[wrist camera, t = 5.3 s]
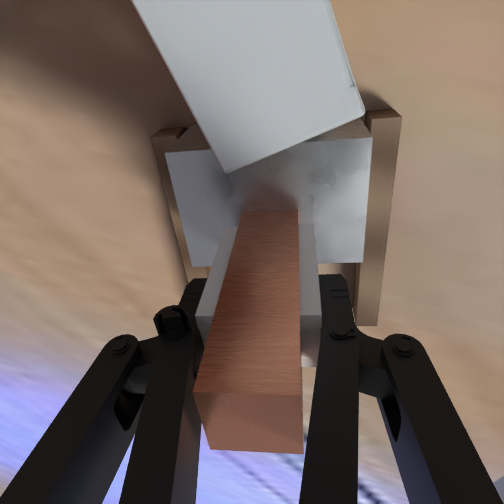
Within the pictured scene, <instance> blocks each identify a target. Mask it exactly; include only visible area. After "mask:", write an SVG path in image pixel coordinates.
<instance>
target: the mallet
mask: <svg viewBox="0 0 504 504" xmlns="http://www.w3.org/2000/svg"><path fill="white" fill-rule="evenodd" d="M372 141H373V137H372V135H371V134H370V132H369V131H368V129H367V128H366V126H365V124H364V123H363V121H362V120H361V118H360V117H359V118H357V119H355V120H352V121H350V122H347V123H345V124H343V125H340V126H338V127H336V128H333V129H331V130H329V131H326V132H324V133H322V134H319V135H317V136H315V137H312V138H310V139H308V140H305V141H303V142H301V143H298V144H296V145H294V146H291V147H289V148H287V149H284V150H282V151H280V152H277V153H275V154H272V155H270V156H268V157H265V158H263V159H261V160H258V161H256V162H254V163H251V164H249V165H246V166H244V167H242V168H239V169H237V170H234V171H232V172H230V173H226V174H225V173H223V171H222V168H221V166H220V164H219V163H218V161H217V159H216V157H215V155H214V153H213V152H212V150H211V148H210V146H209V144H208V142H207V141H206V139H205V137H204V135H203V133H202V131H201V129H200V128H199V126H198V124H197V123H193V124H192V125H191V126H190V127H189V128H188V129H187V131H186V132H185V133H184V134H183V135H182V136H181V137H180V138H179V139H178V140H177V141H176V142H175V143H174V144H173V145H172V146H171V147H170V148H169V149H168V150H167V151H166V152H165V157H166V161H167V165H168V169H169V173H170V177H171V181H172V185H173V190H174V194H175V198H176V202H177V206H178V210H179V214H180V218H181V222H182V227H183V231H184V235H185V239H186V243H187V247H188V251H189V255H190V260H191V264H192V267H204V266H212V264H213V261H214V258H215V255H216V252H217V249H218V246H219V243H220V240H221V237H222V235H223V232H224V229H225V227H238V229H237V233H236V237H235V240H234V244H233V247H232V251H231V255H230V258H229V262H228V265H227V269H226V273H225V276H224V280H223V284H222V287H221V291H220V294H219V298H218V302H217V305H216V309H215V312H214V316H213V320H212V323H211V327H210V331H209V334H208V338H207V341H206V345H205V349H204V352H203V356H202V359H201V363H200V367H199V370H198V374H197V378H196V381H195V385H194V388H193V392H192V393H193V396H194V399H195V402H196V405H197V409H198V412H199V415H200V418H201V421H202V424H203V427H204V431H205V434H206V437H207V440H208V443H209V446H210V449H212V450H232V451H251V452H271V453H290V454H304V448H303V391H302V355H301V332H300V294H299V224H312V223H314V232H315V244H316V255H317V264H319V263H357V262H363V253H364V241H365V228H366V216H367V203H368V191H369V178H370V166H371V153H372Z"/></svg>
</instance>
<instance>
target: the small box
mask: <svg viewBox="0 0 504 504" xmlns="http://www.w3.org/2000/svg"><path fill="white" fill-rule="evenodd" d="M131 2H132V4H133V6H134V8H135V9H136V11H137V13H138V15H139V17H140V19H141V21H142V23H143V24H144V26H145V28H146V30H147V32H148V34H149V35H150V37H151V39H152V41H153V43H154V45H155V47H156V48H157V50H158V52H159V54H160V56H161V57H162V59H163V61H164V63H165V65H166V67H167V69H168V70H169V72H170V74H171V76H172V78H173V79H174V81H175V83H176V85H177V87H178V89H179V91H180V92H181V94H182V96H183V98H184V100H185V102H186V104H187V105H188V107H189V109H190V111H191V112H192V114H193V116H194V118H195V120H196V122H197V124H198V126H199V128H200V129H201V131H202V133H203V135H204V137H205V139H206V141H207V142H208V144H209V146H210V148H211V150H212V152H213V153H214V155H215V157H216V159H217V161H218V163H219V164H220V166H221V168H222V171H223V173H225V174H226V173H230V172H232V171H234V170H237V169H239V168H242V167H244V166H246V165H249V164H251V163H254V162H256V161H258V160H261V159H263V158H265V157H268V156H270V155H272V154H275V153H277V152H280V151H282V150H284V149H287V148H289V147H291V146H294V145H296V144H298V143H301V142H303V141H305V140H308V139H310V138H312V137H315V136H317V135H319V134H322V133H324V132H326V131H329V130H331V129H333V128H336V127H338V126H340V125H343V124H345V123H347V122H350V121H352V120H355V119H357V118H359V117H361V116H363V115H364V113H365V107H364V104H363V102H362V99H361V96H360V94H359V91H358V88H357V85H356V82H355V80H354V77H353V74H352V71H351V67H350V64H349V61H348V58H347V55H346V52H345V48H344V45H343V42H342V39H341V36H340V32H339V29H338V26H337V22H336V19H335V16H334V12H333V9H332V6H331V2H330V0H131Z"/></svg>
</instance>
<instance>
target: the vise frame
mask: <svg viewBox="0 0 504 504" xmlns="http://www.w3.org/2000/svg"><path fill="white" fill-rule="evenodd" d="M401 121H402V116H401V115H399V114H398V113H397V112H396V111H395V110H394V109H389V110H377V111H366V118H365V126H366V128H367V129H368V131H369V132H370V134H371V135H372V137H373V141H372V153H371V166H370V178H369V191H368V203H367V216H366V228H365V241H364V253H363V262H357V263H356V268H355V283H354V298H353V313H354V318H355V323H356V326H377V320H378V312H379V303H380V295H381V287H382V278H383V270H384V262H385V254H386V245H387V237H388V229H389V220H390V212H391V204H392V195H393V187H394V179H395V171H396V162H397V154H398V146H399V137H400V129H401ZM185 132H186V131H185V127H179V128H167V129H161V130H159V131H158V132H157V133H156V134H155V135H153V136H152V137H151V140H152V144H153V148H154V152H155V155H156V159H157V163H158V167H159V171H160V175H161V179H162V183H163V186H164V190H165V194H166V198H167V202H168V206H169V210H170V214H171V217H172V221H173V225H174V229H175V233H176V237H177V241H178V245H179V248H180V252H181V256H182V260H183V264H184V268H185V272H186V276H187V279H188V283H189V282H190V281H192V280H193V279H194V278H208V276H209V273H210V270H211V267H212V266H204V267H192V264H191V260H190V255H189V251H188V247H187V243H186V239H185V235H184V231H183V227H182V222H181V218H180V214H179V210H178V206H177V202H176V198H175V194H174V190H173V185H172V181H171V177H170V173H169V169H168V165H167V161H166V157H165V152H166V151H167V150H168V149H169V148H170V147H171V146H172V145H173V144H174V143H175V142H176V141H177V140H178V139H179V138H180V137H181V136H182V135H183V134H184V133H185Z"/></svg>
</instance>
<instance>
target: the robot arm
mask: <svg viewBox="0 0 504 504" xmlns="http://www.w3.org/2000/svg"><path fill="white" fill-rule="evenodd" d="M237 229H238V227H225V229H224V232H223V235H222V237H221V240H220V243H219V246H218V249H217V252H216V255H215V258H214V261H213V264H212V267H211V270H210V273H209V276H208V278H194V279H193V280H192V281H190V282H189V283H188V284H187V286H186V288H185V290H184V293H183V295H182V298H181V301H180V303H179V305H172V306H168V307H165V308H163V309H161V310H160V311H159V312H158V313H157V314H156V315H155V317H154V318H153V320H154V323H155V326H156V329H157V331H158V334H159V335H158V336H156V337H153V338H150V339H146V340H142V341H138V340H137V338H136V337H135V336H133V335H129V334H126V335H120V336H117V337H115V338H113V339H112V340H110V341H109V342H108V343H107V344H106V345H105V346H104V348H103V349H102V351H101V352H100V353H99V355H98V356H97V358H96V359H95V361H94V362H93V364H92V365H91V366H90V368H89V369H88V371H87V372H86V374H85V375H84V377H83V378H82V380H81V381H80V382H79V384H78V385H77V387H76V388H75V390H74V391H73V393H72V394H71V396H70V397H69V398H68V400H67V401H66V403H65V404H64V406H63V407H62V409H61V410H60V411H59V413H58V414H57V416H56V417H55V419H54V420H53V422H52V423H51V425H50V426H49V427H48V429H47V430H46V432H45V433H44V435H43V436H42V438H41V439H40V441H39V442H38V443H37V445H36V446H35V448H34V449H33V451H32V452H31V454H30V455H29V456H28V458H27V459H26V461H25V462H24V464H23V465H22V467H21V468H20V470H19V471H18V472H17V474H16V475H15V477H14V478H13V480H12V481H11V483H10V484H9V485H8V487H7V488H6V490H5V491H4V493H3V494H2V496H1V497H0V504H102V502H103V500H104V498H105V496H106V494H107V492H108V490H109V488H110V485H111V483H112V481H113V479H114V477H115V475H116V473H117V471H118V468H119V466H120V464H121V462H122V460H123V458H124V456H125V454H126V452H127V449H128V447H129V445H130V443H131V441H132V439H133V437H134V435H135V437H134V442H133V446H132V450H131V454H130V459H129V463H128V467H127V471H126V476H125V480H124V484H123V488H122V493H121V497H120V501H119V504H195V502H196V489H197V476H198V463H199V449H200V436H201V423H202V421H201V418H200V415H199V412H198V409H197V405H196V402H195V399H194V396H193V393H192V392H193V388H194V385H195V381H196V378H197V374H198V370H199V367H200V363H201V359H202V356H203V352H204V349H205V345H206V341H207V338H208V334H209V331H210V327H211V323H212V320H213V316H214V312H215V309H216V305H217V302H218V298H219V294H220V291H221V287H222V284H223V280H224V276H225V273H226V269H227V265H228V262H229V258H230V255H231V251H232V247H233V244H234V240H235V237H236V233H237ZM299 294H300V332H301V355H302V367H317V369H316V377H315V385H314V392H313V400H312V407H311V415H310V423H309V430H308V438H307V446H306V453H305V461H304V468H303V476H302V484H301V491H300V499H299V504H357V494H358V414H359V392H361V393H364V394H367V395H370V396H374V397H376V398H377V401H378V404H379V408H380V411H381V414H382V417H383V420H384V423H385V427H386V430H387V433H388V436H389V439H390V443H391V446H392V449H393V452H394V455H395V459H396V462H397V465H398V468H399V471H400V475H401V478H402V481H403V484H404V487H405V491H406V494H407V497H408V500H409V503H410V504H503V502H502V500H501V498H500V496H499V494H498V492H497V490H496V488H495V486H494V484H493V482H492V480H491V478H490V477H489V475H488V473H487V471H486V469H485V467H484V465H483V463H482V461H481V459H480V457H479V455H478V453H477V451H476V449H475V447H474V445H473V443H472V441H471V439H470V437H469V435H468V433H467V431H466V429H465V427H464V425H463V423H462V421H461V419H460V417H459V416H458V414H457V412H456V410H455V408H454V406H453V404H452V402H451V400H450V398H449V396H448V394H447V392H446V390H445V388H444V386H443V384H442V382H441V380H440V378H439V376H438V374H437V372H436V370H435V368H434V366H433V364H432V362H431V360H430V358H429V356H428V355H427V353H426V351H425V349H424V347H423V346H422V344H421V343H420V342H419V341H418V340H416V339H415V338H413V337H411V336H408V335H405V334H393V335H389V336H388V337H386V338H385V339H384V340H380V339H376V338H372V337H370V336H367V335H365V334H363V333H362V332H361V331H360V330H359V329H358V328H357V327H356V325H355V322H354V317H353V312H352V306H351V301H350V296H349V291H348V286H347V281H346V280H345V279H344V278H343V277H342V275H341V274H326V275H318V266H317V255H316V244H315V232H314V223H312V224H299Z"/></svg>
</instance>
